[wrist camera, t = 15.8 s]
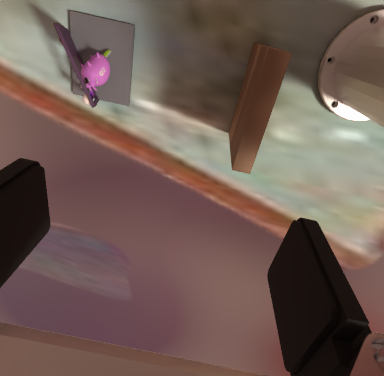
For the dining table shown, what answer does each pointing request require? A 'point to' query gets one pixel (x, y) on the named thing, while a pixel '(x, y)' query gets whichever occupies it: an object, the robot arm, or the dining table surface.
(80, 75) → the pink radish toy
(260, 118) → the screen
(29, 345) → the robot arm
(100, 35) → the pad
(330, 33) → the dining table surface
